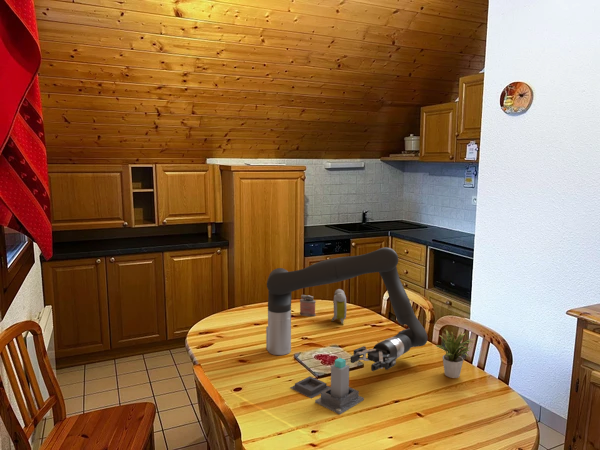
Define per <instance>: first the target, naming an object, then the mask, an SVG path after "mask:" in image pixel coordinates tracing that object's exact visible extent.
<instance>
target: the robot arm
mask: <svg viewBox="0 0 600 450" xmlns="http://www.w3.org/2000/svg"><path fill="white" fill-rule="evenodd" d="M398 264H399V256H398V254H397V252H396V251H395V250H394V249H393V248H391V247H380V248H378V249H377V250H373V251H369V252H368V253H365V254H360V255H359V254H358V255H352V256H350V255H349V256H339V257H333V258H329V259H325V260H324V259H323V260H321V261H318V262H316V263H313V264H311V265H309V266H307V267H305V268H302V269H298V270H293V271H288V270H287V269H285V268H281V267H279V268H275V269H272V271H271V272H270V273H269V275H268V278H267V280H266V287H267V291H268V298H267V299H268V300H267V326H266V328H265V329H266V330H265V332H266V333H265V334H266V337H265V339H266V340H265V342H266V348H265V349H266V350H267V351H268V352H267V353H269V354H271V355H274V356H283V355H288V354H290V353H291V352H292V292H295V291H298V290H302V289H306V288H313V287H317V286H323V285H329V284H334V283H339V282H342V281H346V280H349V279H350V280H351V279H353V278H357V277H358V276H362V275H366V274H372V273H373V274H375V273H379V275H380V277H381V279H382V281H383V283H384V286H385V288H386V291H387V294H388V298H389V300H390V303H391V307H392V309H393V313H394V315H395V318H396V321H397V323H398V324H399V325H405V326H407V327H408V328H405V329H402V330H400V331H399V332H398V333H397V334H395V335H393V336H391V337H388V338H386V339H384V340H381V341H380V342H377V343H376V344H375V345H374V346H373V348H369V349H368V348H367V347H366V346H365V345H363V346H361V347H357V348H356V349H353V355H350V359H349V360H350V363H351V364H354V363H356V362H358V361H364V362H370V361H371V362H373V363H372V364H371V366H370V367H371V369H370V370H371V371H372V372H375V371H378V370H379V369H380V370H381V369H384V370H386V371H388V370H390V369H391V368H393V367H394V366H396V364H397V359H398V358H400V357H401V356H403V355H405V354H406V353H407V352H409V351H410V349H411V348H416V347H423V346H426V344H427V342H428V334H427V331H426V329H425V328H424V326H423V325H422V323H421V321H420V320H419V318H417V316H416V315H415V312H414V309H413V306H412V303H411V301H410V298H409V295H408V293H407V292H406V290H405V288H404V286H403V283H402V280H401V279H400V275H399V272H398V268H397V266H398Z"/></svg>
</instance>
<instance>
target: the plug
mask: <svg viewBox="0 0 600 450" xmlns="http://www.w3.org/2000/svg"><path fill="white" fill-rule="evenodd" d="M349 385H350V365H349V364H347V363H346V359H345V358H341V357H338V358H337V359H335V360H334V364H333V365H331V366H330V387H331V395H332V396H335V397H337V398H339V399H341V398H343V397H345V396H346V395H348V394H349V387H350V386H349Z"/></svg>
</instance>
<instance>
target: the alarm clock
mask: <svg viewBox="0 0 600 450" xmlns="http://www.w3.org/2000/svg"><path fill="white" fill-rule="evenodd" d="M346 296H347V295H346V294H345V291H344V290H343V289H341V288H338V289H336V290H335V291H334V294H333V301H332V302H333V303H332V304H333V316H332V317H331V318H332V319H331V320H330V322H334V321H335V320H339V321H340V323H341V325H342V326H343V325H344V320H346V318H347V297H346Z"/></svg>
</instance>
